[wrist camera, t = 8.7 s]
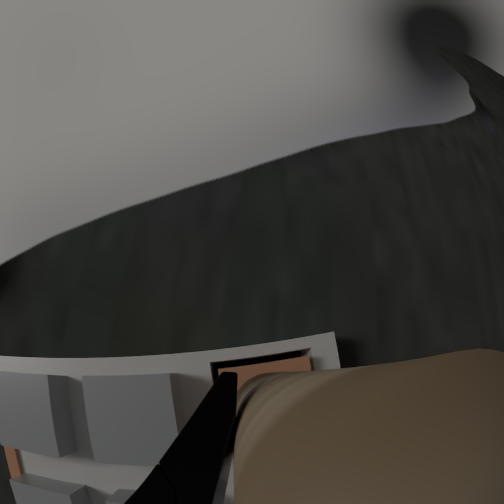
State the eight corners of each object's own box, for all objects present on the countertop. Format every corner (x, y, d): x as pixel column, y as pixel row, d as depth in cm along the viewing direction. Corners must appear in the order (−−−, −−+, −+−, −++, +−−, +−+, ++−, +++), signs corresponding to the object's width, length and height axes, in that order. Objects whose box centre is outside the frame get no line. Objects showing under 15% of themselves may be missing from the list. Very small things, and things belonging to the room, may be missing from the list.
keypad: (346, 519, 13) (373, 548, 9) (47, 523, 11) (15, 543, 7) (321, 337, 18) (347, 325, 14) (14, 359, 16) (-28, 351, 12)
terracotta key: (309, 430, 15) (321, 439, 13) (231, 443, 15) (231, 455, 12) (298, 357, 17) (308, 355, 14) (220, 369, 16) (217, 368, 14)
